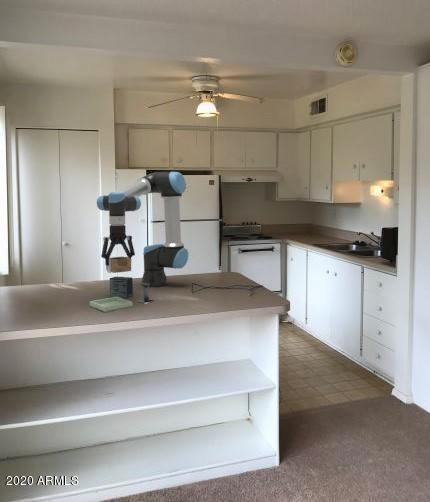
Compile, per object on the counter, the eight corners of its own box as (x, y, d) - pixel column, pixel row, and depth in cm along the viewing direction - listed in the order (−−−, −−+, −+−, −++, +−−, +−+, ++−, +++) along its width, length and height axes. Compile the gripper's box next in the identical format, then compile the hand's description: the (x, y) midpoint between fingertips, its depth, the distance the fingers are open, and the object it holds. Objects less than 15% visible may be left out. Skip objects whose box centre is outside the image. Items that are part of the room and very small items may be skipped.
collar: (106, 270, 249) (106, 258, 248) (123, 268, 254) (123, 256, 253) (113, 272, 241) (113, 260, 241) (131, 271, 246) (131, 258, 246)
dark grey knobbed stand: (135, 302, 256) (134, 283, 255) (148, 300, 261) (148, 281, 260) (144, 305, 250) (143, 285, 249) (157, 302, 255) (157, 283, 254)
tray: (89, 306, 250) (89, 301, 249) (117, 301, 259) (116, 296, 259) (104, 312, 238) (104, 307, 238) (132, 306, 248) (132, 301, 248)
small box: (133, 296, 270) (133, 277, 268) (127, 299, 264) (127, 279, 262) (116, 295, 273) (115, 275, 272) (109, 298, 267) (108, 278, 265)
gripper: (98, 226, 236) (100, 274, 239) (141, 224, 248) (142, 270, 251) (92, 225, 242) (94, 272, 245) (134, 223, 254) (136, 268, 257)
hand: (118, 271), depth 248 cm, fingers closed on collar, 9 cm apart
